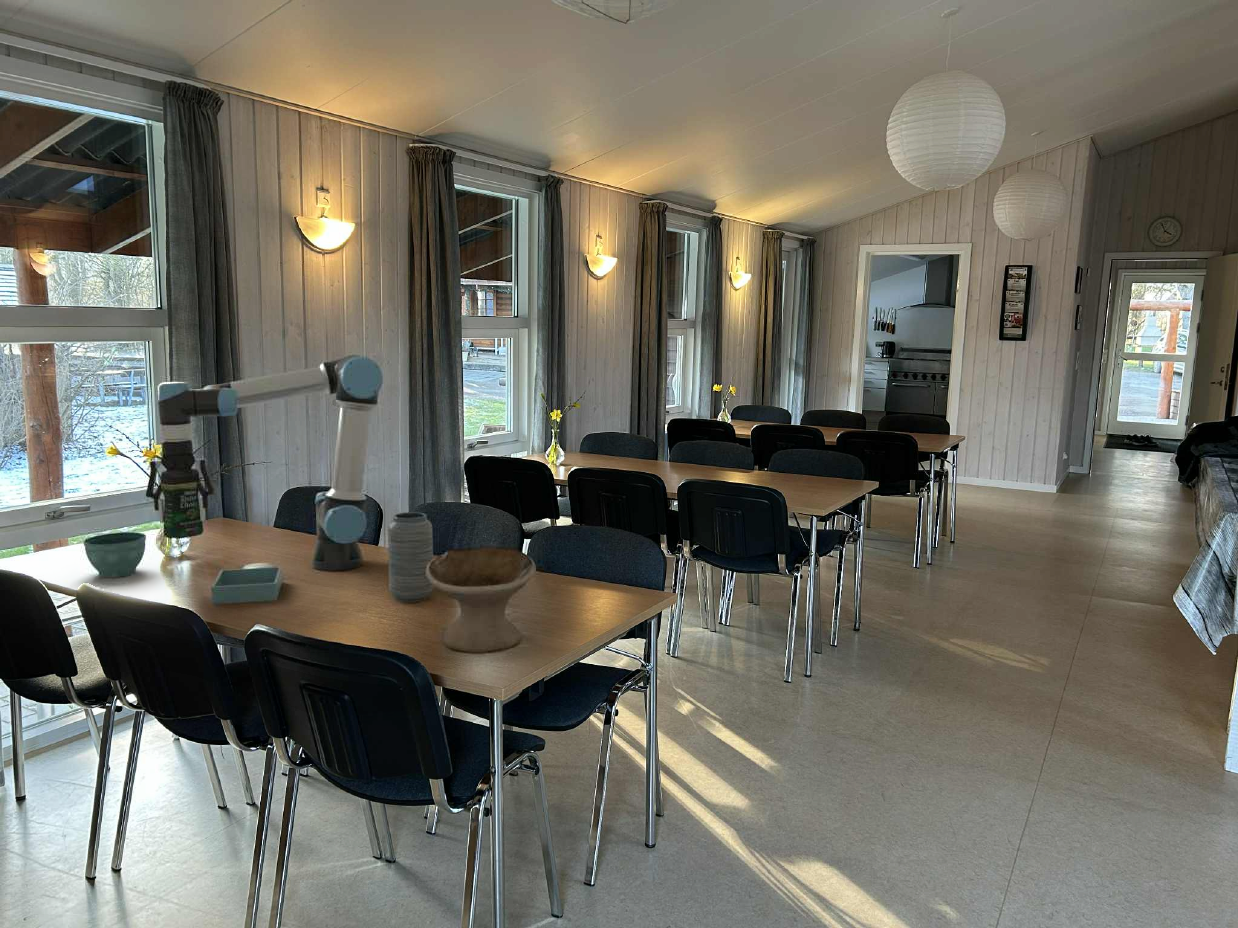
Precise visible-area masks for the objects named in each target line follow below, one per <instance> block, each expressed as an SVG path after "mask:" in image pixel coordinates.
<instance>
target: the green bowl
mask: <svg viewBox="0 0 1238 928" xmlns="http://www.w3.org/2000/svg"><path fill="white" fill-rule="evenodd" d="M146 540H147V535H146V534H145V533H143V532H134V531H133V532H132V531H126V532H125V531H124V532H122V531H121V532H119V531H118V532H111V533H110V532H109V533H103V534H98V535H94V536H90V537H87V538H85V539H84V540H83V542H82V543H83V546H84V551H85V555H86V557H87V559H88V561H89V562H90V565H91V566H92V567H93V568H94V569H95V570H96V571H97V573H98V575H99V577H101V578H109V579H111V578H112V579H114V578H122V577H126V576H131V575H134V574H135V573H136V572H137V567H138V566H139V564H140V563H141V561H142V559H143V557H144V555H145V551H146Z"/></svg>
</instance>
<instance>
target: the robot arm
mask: <svg viewBox="0 0 1238 928" xmlns="http://www.w3.org/2000/svg"><path fill="white" fill-rule="evenodd" d="M383 383H384V375H383V372H382V369H381V367H380V365H378V363H377V362H376V361H375V360H373V359H372V358H369V357H367V356H363V355H357V354H355V355H354V354H353V355H347V356H344V357H340V358H337V359H334V360H330V361H326V362H321V363H320V365H319V366H317V367H316V366H315V367H312V368H306V369H300V370H299V369H298V370H294V371H293V370H292V371H287V372H283V373H276V374H271V375H264V376H259V377H253V378H248V379H242V380H235V381H230V382H223V383H220V384H219V383H218V384H208V385H205V386H204V387H202V388H197V389H194V388H190V387H189V384H188V382H187V381H166V382H160V383H159V385H157V403H158V416H159V428H160V438H161V440H162V441H161V453H162V454H161V456H162V457H161V459H159V460H156V459H153V460H151V461H150V462H149V466H150V473H149V478H148V484H147V487H146V493H145V497H146V498H151V499H153V502H154V503H153V504H154V505H153V506H154V510H155V511H158V515H159V524H164V497H161V495H162V493H163V490H162V488H161V482H160V483H159V484H158V486H157V488H156V490H155V492H154V488H155V483H156V479H157V474H158V469H159V468H160V467H161V465H162V466H163V467H164V469H166V470H165V471H166V472H167V471H172V470H181V471H185V472H186V473H190V474H192V472H191V471H190V469H193V468H192V467H193V466H194V464H196V465H197V467H198V468H200V472H201V474H202V477H203V480H204V483H205V486H204V485H203V483H202V482H201V481H200V482H199V481H197V489H198V493H199V494H200V496H198V497H199V505H200V518H201V521H202V522H204V521H205V520H206V513H205V512H206V510H205V509H208V507H209V496H211V495H213V494H214V493H215V491H216V489H215V488H214V485H213V482H212V479H211V476H210V474H209V470H208V468H207V458H205V457H203V458H196V457H195V456H194V448H193V447H194V446H193V440H192V439H191V438H192V437H193V433H192V420H191V419H192V417H193V418H196V417H228V416H235V415H237V414H238V411H239V410H238V408H244V407H249V406H254V405H260V404H265V403H271V402H277V401H283V400H287V399H292V398H298V397H305V396H310V395H317V394H321V393H325V394H327V395H334V394H336V395H335V402H336V403H337V404H338V406H339V407H340V408H339V416H338V424H337V425H338V426H337V433H336V443H335V444H336V445H335V452H334V463H333V471H332V478H331V479H332V480H331V488H330V489H329V490H328V491H321V492H318V493H316V495H315V501H314V504H315V513H316V517H315V518H316V519H315V521H316V543H315V544H316V545H315V548H314V549H313V550H314V551H313V554H312V557H311V567H312V568H313V569H316V570H319V571H328V572H329V571H345V570H351V569H355V568H359V567H361V566H363V564H364V555H363V552H362V550H361V548H360V547H361V546H360V544H359V542H358V540H359V539H360V538H361V537H362V536H363V534H364V533H365V531H366V528H367V524H368V523H367V518H366V514H365V512H366V505H367V496H366V494H364V493H363V483H364V474H365V466H366V457H367V449H368V439H369V430H370V421H371V414H372V410H373V409H375V408H376V407H377V406H378V400H379V392H380V390H381V389H382V386H383ZM205 487H206V488H205Z"/></svg>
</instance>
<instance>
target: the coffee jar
mask: <svg viewBox="0 0 1238 928" xmlns="http://www.w3.org/2000/svg"><path fill="white" fill-rule="evenodd" d="M190 471H191V472H192V474H190V473H186V472H185V471H181V470H172V471H167V472H166V470H164V471H162V472H161V474H160V483H161V488H162V490H163V491H162V493H163V502H164V522H163V536H164V537H165V538H166V539H167V538H168V539H170V540H171V539H187V538H192V537H197V536H201V535H202V534H203V533H204V523H203V522H204V521H201V518H200V504H199V497H200V496H199V491H198V489H197V481H199V482H201V479H200V474H199V470H198V469H196V468H192V469H190Z"/></svg>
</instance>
